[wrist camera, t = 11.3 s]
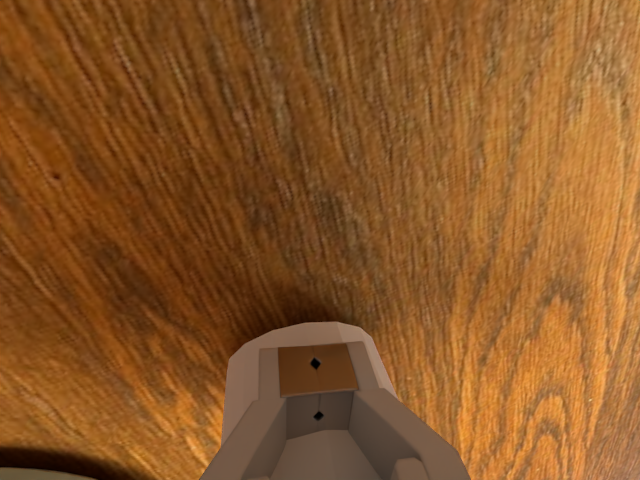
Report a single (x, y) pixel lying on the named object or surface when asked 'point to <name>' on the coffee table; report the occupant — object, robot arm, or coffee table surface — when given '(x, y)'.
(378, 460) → the robot arm
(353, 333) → the shot glass
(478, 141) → the coffee table surface
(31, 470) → the plate
